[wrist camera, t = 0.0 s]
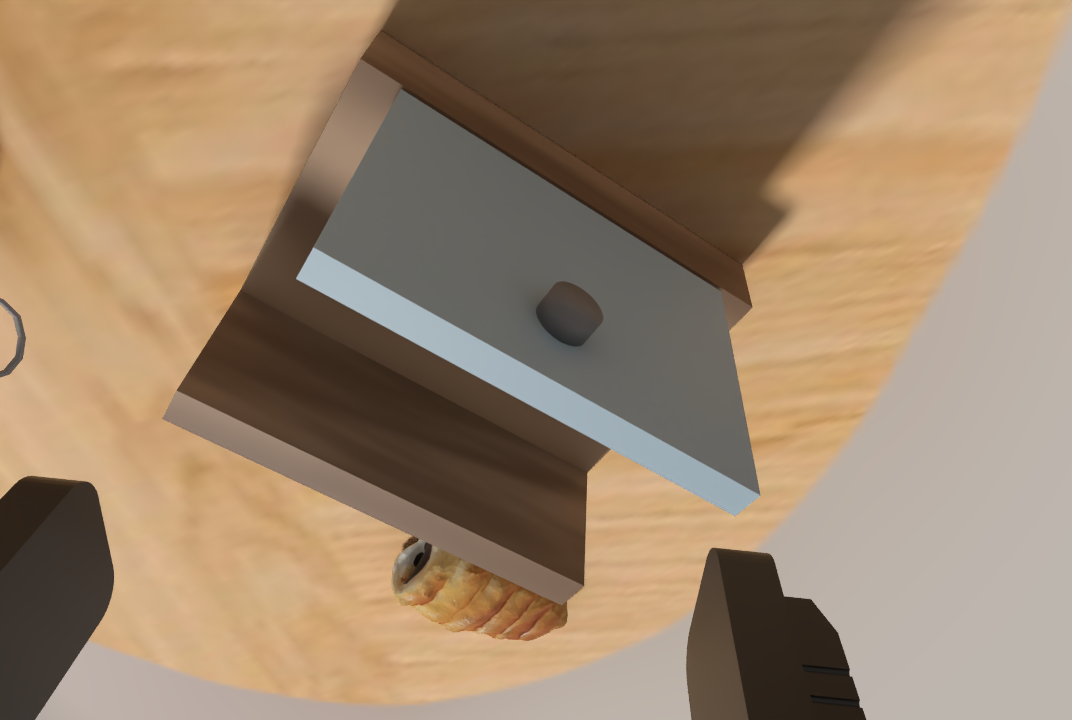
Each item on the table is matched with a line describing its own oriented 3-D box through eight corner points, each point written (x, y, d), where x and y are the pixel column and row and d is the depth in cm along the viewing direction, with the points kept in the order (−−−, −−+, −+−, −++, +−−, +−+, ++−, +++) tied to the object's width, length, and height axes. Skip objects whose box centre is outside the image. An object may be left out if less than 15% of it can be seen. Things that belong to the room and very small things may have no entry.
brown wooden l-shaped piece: (380, 30, 29) (306, 134, 22) (742, 265, 34) (778, 414, 27) (252, 276, 36) (162, 418, 28) (570, 445, 40) (561, 605, 33)
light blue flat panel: (703, 310, 31) (735, 515, 23) (386, 114, 28) (296, 278, 20) (736, 276, 30) (781, 478, 22) (412, 67, 27) (328, 220, 19)
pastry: (597, 573, 46) (595, 634, 43) (524, 629, 50) (519, 690, 47) (449, 494, 43) (437, 554, 40) (384, 560, 47) (368, 620, 44)
